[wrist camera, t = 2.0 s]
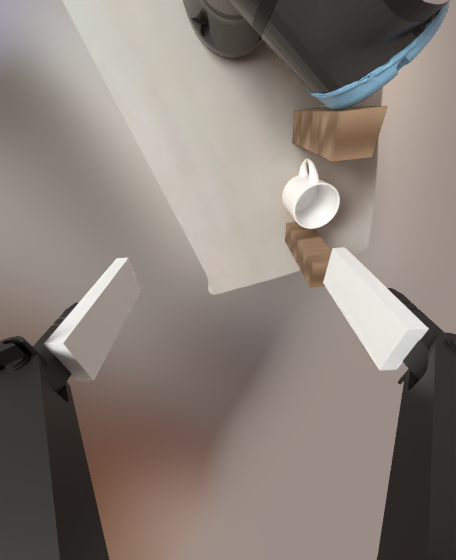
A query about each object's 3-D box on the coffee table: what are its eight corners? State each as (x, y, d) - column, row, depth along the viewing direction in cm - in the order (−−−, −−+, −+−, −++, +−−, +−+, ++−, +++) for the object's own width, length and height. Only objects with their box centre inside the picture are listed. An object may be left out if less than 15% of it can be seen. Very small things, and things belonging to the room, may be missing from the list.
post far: (286, 223, 52) (314, 264, 36) (306, 221, 52) (343, 262, 35) (285, 241, 55) (310, 287, 39) (304, 239, 55) (337, 285, 38)
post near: (295, 110, 39) (342, 111, 23) (321, 107, 38) (387, 106, 23) (292, 142, 42) (332, 161, 26) (317, 139, 42) (372, 157, 26)
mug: (321, 151, 43) (345, 156, 34) (317, 208, 50) (337, 224, 41) (279, 160, 44) (293, 167, 35) (282, 215, 51) (293, 232, 42)
